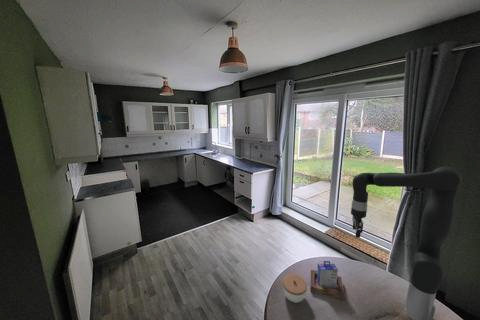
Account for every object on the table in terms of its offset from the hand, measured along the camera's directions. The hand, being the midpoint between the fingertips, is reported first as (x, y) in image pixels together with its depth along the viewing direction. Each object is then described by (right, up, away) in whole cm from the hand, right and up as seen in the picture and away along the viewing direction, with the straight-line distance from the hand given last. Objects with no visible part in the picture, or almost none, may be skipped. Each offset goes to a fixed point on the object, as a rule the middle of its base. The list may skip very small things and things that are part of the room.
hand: (356, 233), depth 112 cm
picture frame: (-18, -31, 0) cm, 36 cm away
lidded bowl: (-38, -33, -6) cm, 51 cm away
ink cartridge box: (-18, -30, 0) cm, 35 cm away
